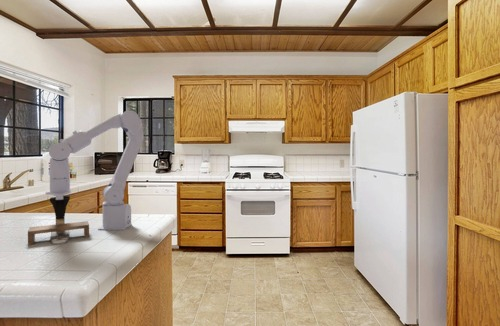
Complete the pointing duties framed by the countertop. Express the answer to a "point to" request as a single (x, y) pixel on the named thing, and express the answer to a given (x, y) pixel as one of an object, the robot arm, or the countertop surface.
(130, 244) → the countertop surface
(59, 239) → the silver flat dome
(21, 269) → the countertop surface
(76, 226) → the brown wooden bridge
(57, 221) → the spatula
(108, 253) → the countertop surface
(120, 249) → the countertop surface
